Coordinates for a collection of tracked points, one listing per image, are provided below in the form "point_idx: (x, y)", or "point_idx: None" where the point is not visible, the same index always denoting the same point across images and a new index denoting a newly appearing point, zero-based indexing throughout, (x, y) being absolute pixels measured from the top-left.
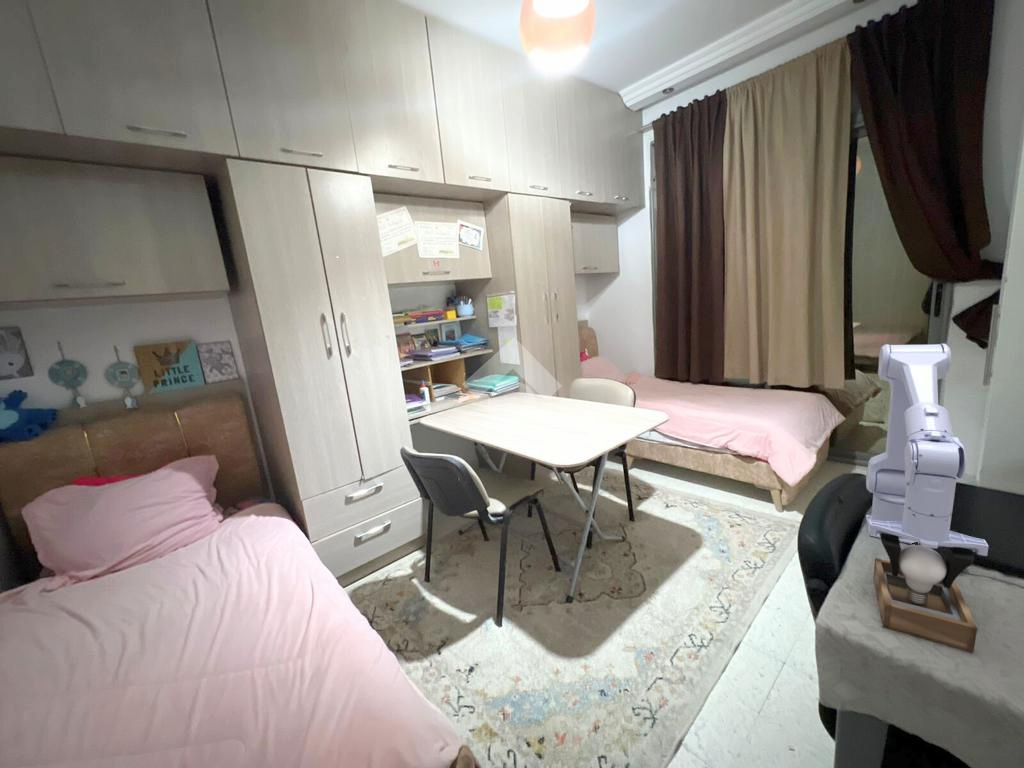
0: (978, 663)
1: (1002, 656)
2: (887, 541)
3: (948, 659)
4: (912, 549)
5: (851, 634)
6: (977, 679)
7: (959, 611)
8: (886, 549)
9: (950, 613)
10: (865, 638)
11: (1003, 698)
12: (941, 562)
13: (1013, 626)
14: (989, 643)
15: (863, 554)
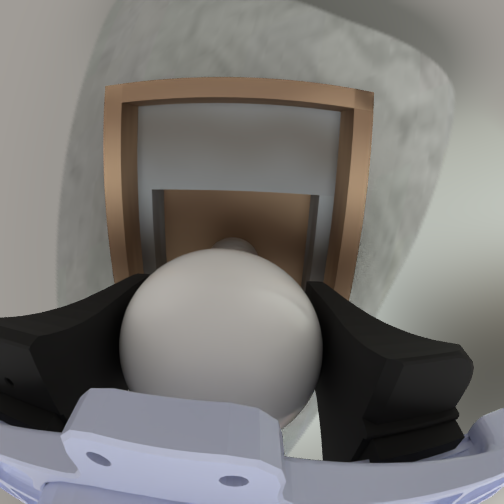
0: (142, 63)
1: (89, 124)
2: (439, 398)
3: (205, 41)
4: (269, 406)
5: (413, 53)
6: (163, 8)
7: (132, 199)
8: (432, 340)
9: (158, 217)
10: (386, 46)
11: None
12: (129, 346)
13: (58, 259)
14: (101, 162)
15: (308, 409)
